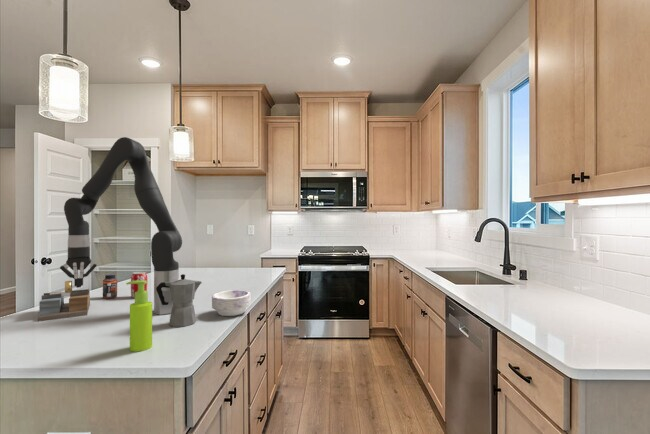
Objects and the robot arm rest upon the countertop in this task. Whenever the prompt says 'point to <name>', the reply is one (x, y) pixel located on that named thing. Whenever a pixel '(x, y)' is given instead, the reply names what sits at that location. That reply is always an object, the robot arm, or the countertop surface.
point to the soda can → (134, 287)
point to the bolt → (67, 289)
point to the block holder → (64, 305)
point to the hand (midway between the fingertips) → (78, 287)
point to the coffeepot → (180, 301)
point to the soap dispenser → (140, 319)
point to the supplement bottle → (109, 286)
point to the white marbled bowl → (231, 302)
